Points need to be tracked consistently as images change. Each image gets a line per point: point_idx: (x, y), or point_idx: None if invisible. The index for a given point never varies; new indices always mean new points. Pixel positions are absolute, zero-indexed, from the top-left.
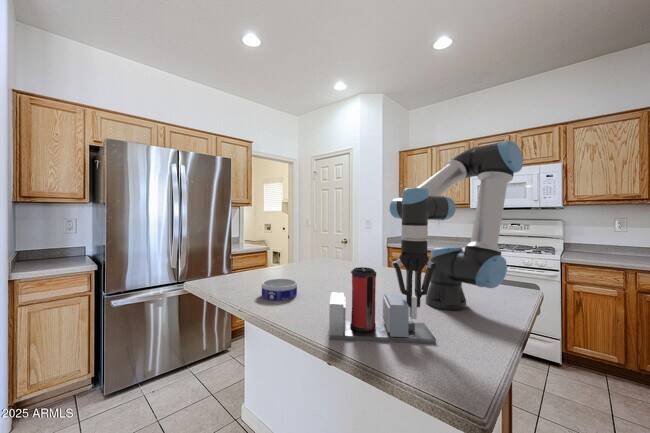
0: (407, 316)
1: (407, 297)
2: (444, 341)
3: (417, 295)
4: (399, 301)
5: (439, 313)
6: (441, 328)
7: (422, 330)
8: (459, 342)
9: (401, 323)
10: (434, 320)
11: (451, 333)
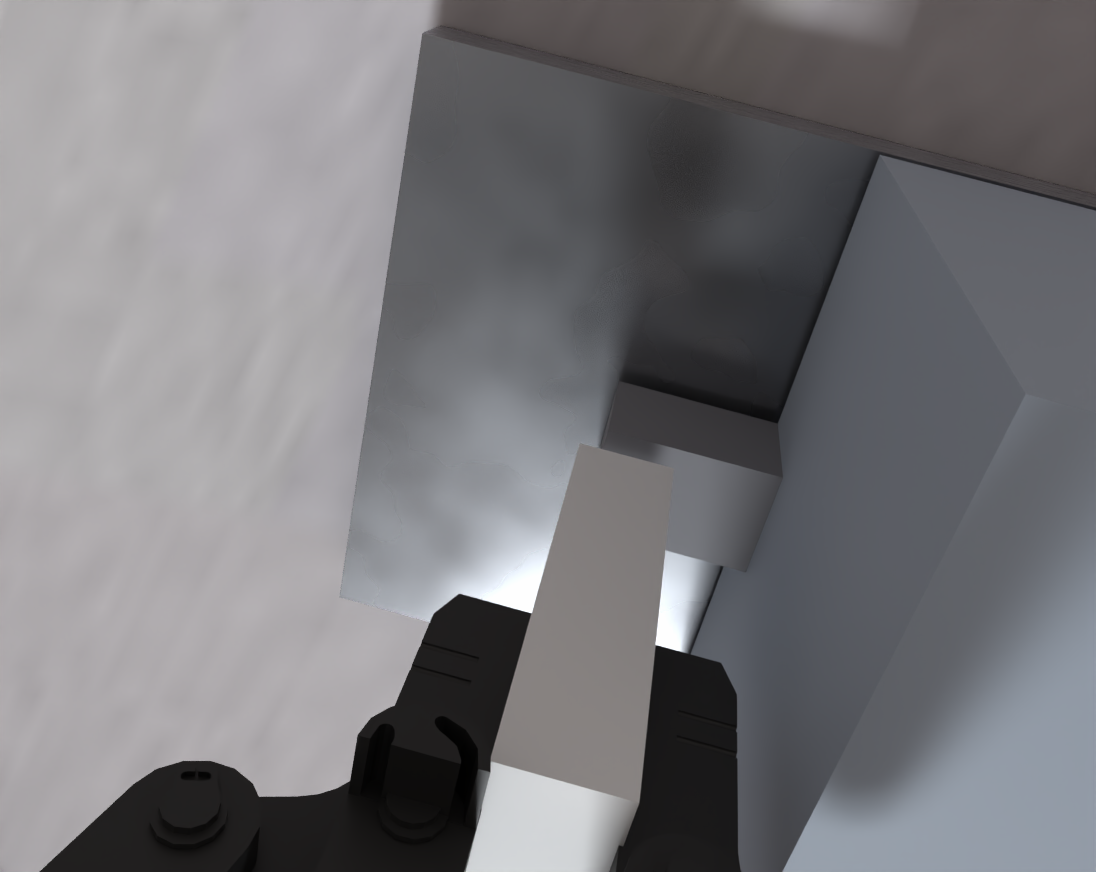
0: (981, 274)
1: (738, 856)
2: (275, 81)
3: (473, 793)
4: (1065, 750)
5: (12, 827)
6: (147, 473)
7: (485, 377)
8: (66, 12)
9: (1070, 260)
10: (145, 687)
11: (71, 310)
